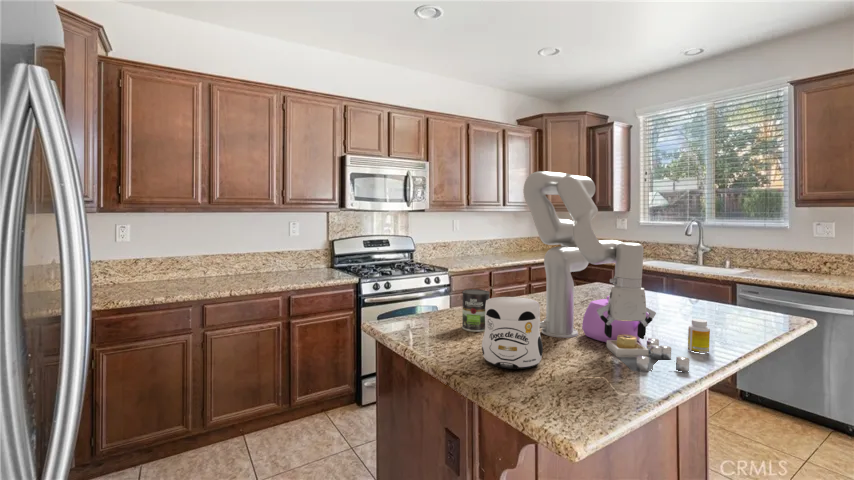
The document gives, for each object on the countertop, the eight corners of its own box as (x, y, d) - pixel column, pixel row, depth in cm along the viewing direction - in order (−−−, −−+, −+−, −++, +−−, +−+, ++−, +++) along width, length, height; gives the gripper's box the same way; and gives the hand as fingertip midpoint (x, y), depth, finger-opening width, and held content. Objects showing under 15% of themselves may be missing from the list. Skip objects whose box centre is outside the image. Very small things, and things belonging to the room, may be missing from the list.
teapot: (633, 354, 126) (634, 306, 126) (574, 337, 144) (575, 295, 143) (670, 341, 139) (671, 297, 138) (612, 327, 157) (613, 288, 156)
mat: (632, 372, 112) (632, 370, 112) (606, 348, 132) (606, 347, 132) (690, 373, 111) (690, 372, 111) (655, 349, 130) (655, 348, 130)
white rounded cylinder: (497, 377, 109) (498, 310, 107) (472, 356, 125) (472, 297, 124) (554, 370, 113) (555, 306, 112) (523, 350, 130) (523, 294, 129)
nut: (619, 351, 125) (619, 338, 125) (614, 346, 130) (615, 333, 130) (639, 352, 124) (639, 339, 124) (634, 347, 129) (634, 334, 129)
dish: (617, 357, 123) (617, 349, 123) (606, 347, 132) (606, 340, 132) (648, 357, 122) (648, 349, 122) (635, 347, 131) (635, 340, 131)
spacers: (639, 371, 111) (639, 359, 111) (611, 347, 131) (612, 337, 131) (691, 373, 110) (691, 360, 110) (655, 348, 130) (656, 338, 130)
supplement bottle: (713, 355, 125) (714, 322, 124) (695, 355, 125) (697, 322, 124) (700, 349, 130) (701, 317, 130) (683, 349, 130) (684, 318, 130)
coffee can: (487, 333, 149) (487, 294, 149) (459, 330, 152) (459, 293, 152) (491, 325, 159) (491, 289, 158) (465, 323, 162) (465, 288, 161)
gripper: (602, 284, 123) (599, 340, 124) (663, 286, 121) (659, 342, 123) (594, 279, 130) (592, 332, 132) (651, 281, 129) (647, 334, 130)
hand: (624, 337), depth 127 cm, fingers open, 9 cm apart
